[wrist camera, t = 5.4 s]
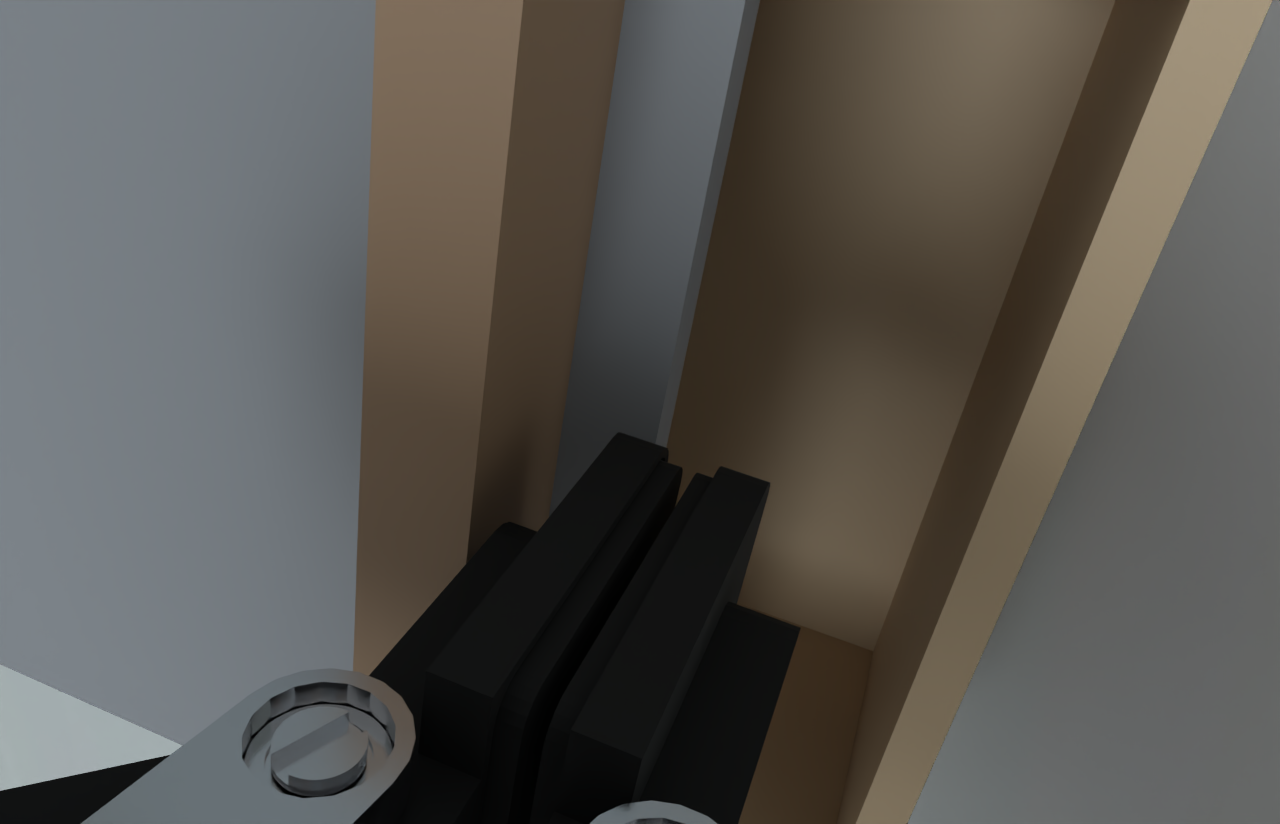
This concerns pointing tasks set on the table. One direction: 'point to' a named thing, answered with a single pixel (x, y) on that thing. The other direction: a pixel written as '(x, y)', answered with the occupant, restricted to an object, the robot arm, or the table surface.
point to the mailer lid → (325, 311)
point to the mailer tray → (925, 332)
